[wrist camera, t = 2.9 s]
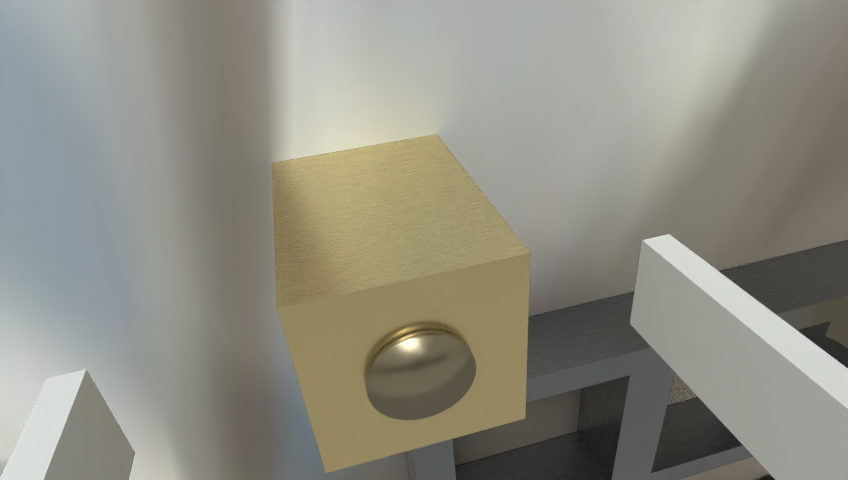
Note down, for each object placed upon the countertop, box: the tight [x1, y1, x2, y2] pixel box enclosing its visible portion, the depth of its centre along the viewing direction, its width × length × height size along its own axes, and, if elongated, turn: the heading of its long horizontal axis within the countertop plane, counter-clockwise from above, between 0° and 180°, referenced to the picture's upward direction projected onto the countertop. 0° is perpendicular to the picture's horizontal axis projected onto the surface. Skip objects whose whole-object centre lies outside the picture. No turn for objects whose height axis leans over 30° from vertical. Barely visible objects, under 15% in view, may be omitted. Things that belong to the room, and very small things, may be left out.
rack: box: [406, 240, 848, 480], centre depth 24 cm, size 9×28×3 cm, turn 95°
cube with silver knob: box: [272, 134, 530, 473], centre depth 14 cm, size 5×5×7 cm
